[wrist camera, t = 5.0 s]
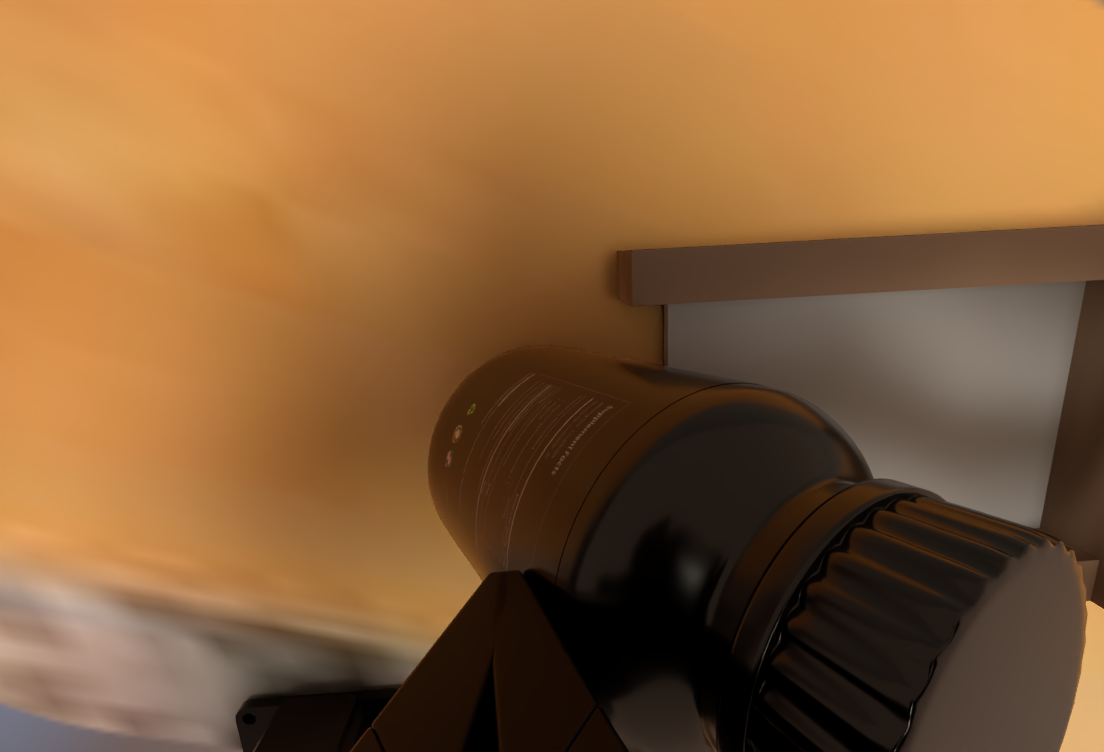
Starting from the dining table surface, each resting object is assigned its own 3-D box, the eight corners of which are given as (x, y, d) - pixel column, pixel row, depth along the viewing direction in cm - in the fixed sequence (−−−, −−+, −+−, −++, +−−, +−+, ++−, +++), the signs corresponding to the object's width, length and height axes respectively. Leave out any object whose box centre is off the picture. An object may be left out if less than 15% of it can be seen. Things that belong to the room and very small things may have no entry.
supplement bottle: (645, 386, 18) (1166, 528, 7) (570, 569, 18) (1005, 982, 7) (477, 301, 14) (1008, 350, 4) (379, 527, 14) (685, 1204, 4)
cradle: (1058, 554, 19) (1191, 629, 15) (624, 583, 19) (647, 668, 15) (1125, 223, 16) (1308, 213, 13) (616, 250, 16) (643, 249, 12)
